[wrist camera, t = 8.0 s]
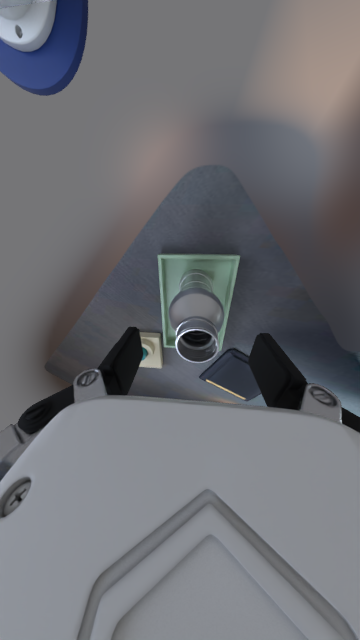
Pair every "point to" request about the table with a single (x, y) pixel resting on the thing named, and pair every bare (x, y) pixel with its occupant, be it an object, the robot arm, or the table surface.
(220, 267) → the tray
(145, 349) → the button
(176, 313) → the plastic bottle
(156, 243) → the table surface
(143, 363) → the control block
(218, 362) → the wallet
